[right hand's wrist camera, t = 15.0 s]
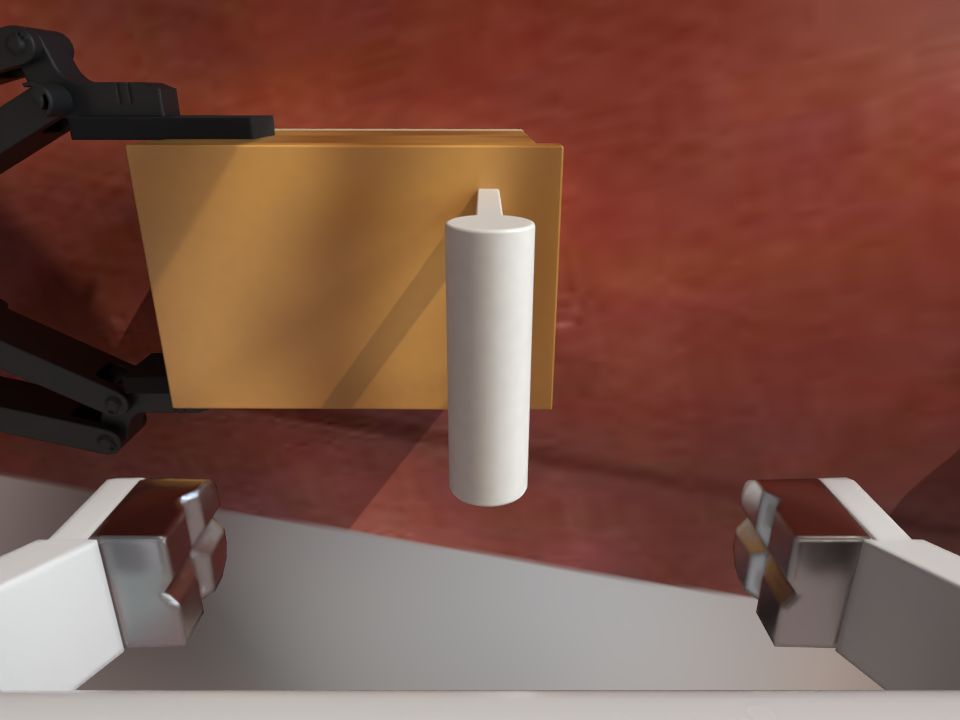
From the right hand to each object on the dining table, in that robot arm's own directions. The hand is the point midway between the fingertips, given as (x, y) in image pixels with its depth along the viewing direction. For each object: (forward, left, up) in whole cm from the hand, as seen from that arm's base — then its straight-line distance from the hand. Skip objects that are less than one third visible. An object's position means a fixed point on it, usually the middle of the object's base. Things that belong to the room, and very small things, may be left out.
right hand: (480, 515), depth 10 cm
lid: (+2, +4, -14) cm, 15 cm away
